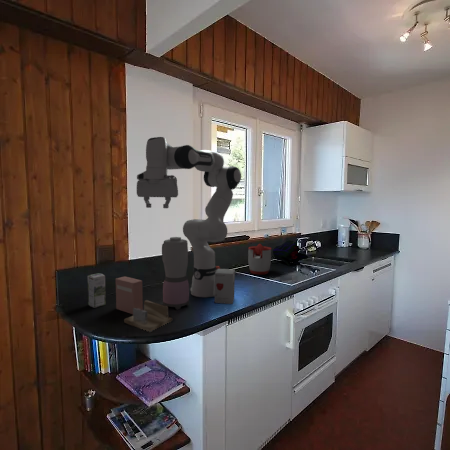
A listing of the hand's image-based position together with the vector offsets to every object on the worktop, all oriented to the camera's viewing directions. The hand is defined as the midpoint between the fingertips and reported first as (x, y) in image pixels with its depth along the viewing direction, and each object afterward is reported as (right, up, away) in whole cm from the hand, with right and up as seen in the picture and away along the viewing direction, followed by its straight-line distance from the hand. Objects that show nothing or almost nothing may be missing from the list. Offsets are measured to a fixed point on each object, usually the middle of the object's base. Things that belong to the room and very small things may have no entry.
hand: (157, 208), depth 130 cm
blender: (+5, -45, +13) cm, 47 cm away
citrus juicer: (+52, -40, +72) cm, 97 cm away
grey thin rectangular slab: (-4, -46, -11) cm, 47 cm away
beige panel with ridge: (-2, -47, -7) cm, 48 cm away
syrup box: (-31, -45, +11) cm, 56 cm away
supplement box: (+29, -45, +19) cm, 57 cm away
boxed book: (-14, -46, +6) cm, 48 cm away
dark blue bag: (+80, -38, +99) cm, 132 cm away
